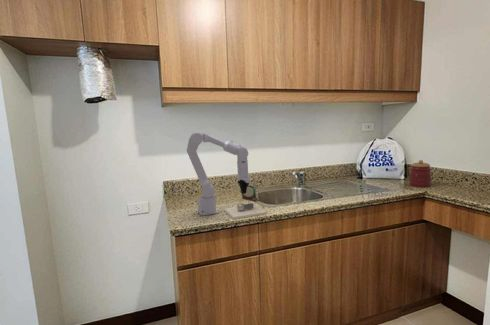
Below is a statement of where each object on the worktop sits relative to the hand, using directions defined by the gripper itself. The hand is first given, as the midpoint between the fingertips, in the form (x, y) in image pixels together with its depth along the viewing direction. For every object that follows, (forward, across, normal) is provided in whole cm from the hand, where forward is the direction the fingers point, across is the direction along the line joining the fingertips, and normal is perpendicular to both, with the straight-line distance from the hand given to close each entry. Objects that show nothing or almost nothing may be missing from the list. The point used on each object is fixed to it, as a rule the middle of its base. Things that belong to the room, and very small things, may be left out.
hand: (243, 193), depth 150 cm
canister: (+10, -6, -128) cm, 129 cm away
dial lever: (+7, -6, +1) cm, 9 cm away
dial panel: (+9, -6, +2) cm, 11 cm away
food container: (+9, +18, -11) cm, 23 cm away
